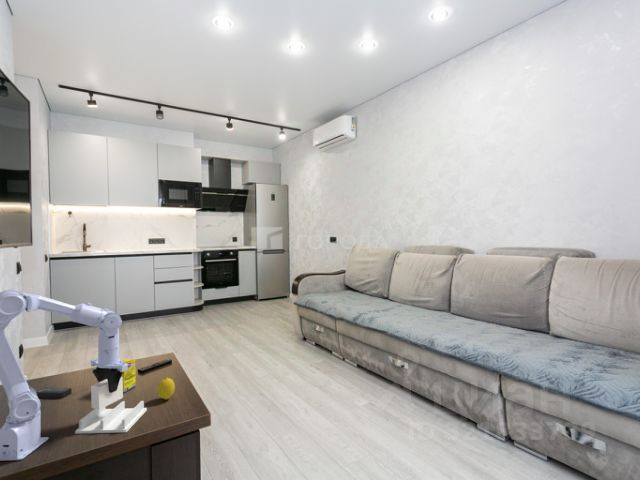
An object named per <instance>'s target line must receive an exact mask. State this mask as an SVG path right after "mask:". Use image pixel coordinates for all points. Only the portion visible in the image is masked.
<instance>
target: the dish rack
mask: <svg viewBox="0 0 640 480" xmlns="http://www.w3.org/2000/svg"><path fill="white" fill-rule="evenodd" d="M144 402H145V401H144V400H140V402H139V403H137V405H135V406H134V407H131V408H129V407H128V408H125V407H126V401H125V400H123V401H121V402H119V404H118V405H117V406H115V407H114V408H106V407H107V406H106V407H104V408H102V409H100V410H98V409H94V408H92V410H91V411H90V412H89V413H87V414H85V416H84V417H82V418H81V419H79V421H78V428H76V430H74V434H75V435H77V434H109V433H110V434H111V433H114V434H115V433H117V434H118V433H127V432H128V431H129V430H130V429H131V428H132V427H133V426H134V425H135V424H136V423H137V422H138V420H139V419H140V418H141V417H142V416H143V415H144V414H145V413H146V412H147V411H148V409H147V407H145V403H144Z"/></svg>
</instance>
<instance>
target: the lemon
mask: <svg viewBox="0 0 640 480" xmlns="http://www.w3.org/2000/svg"><path fill="white" fill-rule="evenodd" d="M158 384H159V385H158V387H157V392H158V393H157V394H158V396H159V397H160V398H161V399H163V400H165V401H167V400H168V399H169V398H171V397H172V396H173V394H175V389H176V388H175V387H176V386H175V385H176V384H175V382H174V380H173V379H172V378H170V377H165V378H163V379H161V381H160V382H159V383H158Z"/></svg>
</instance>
